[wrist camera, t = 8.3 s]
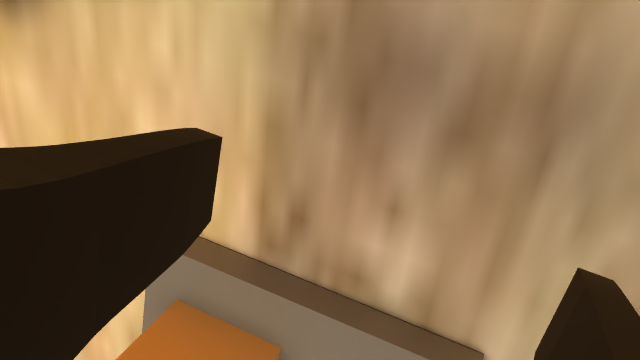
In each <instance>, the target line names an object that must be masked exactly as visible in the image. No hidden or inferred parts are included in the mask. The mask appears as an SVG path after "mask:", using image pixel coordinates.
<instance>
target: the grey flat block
mask: <svg viewBox="0 0 640 360" xmlns="http://www.w3.org/2000/svg"><path fill="white" fill-rule="evenodd" d="M176 300H179V301H181V302H183V303H185V304H187V305H189V306H192V307H194V308H196V309H198V310H200V311H203V312H205V313H207V314H209V315H211V316H213V317H216V318H218V319H220V320H222V321H224V322H226V323H229V324H231V325H233V326H235V327H237V328H239V329H242V330H244V331H246V332H248V333H250V334H253V335H255V336H257V337H259V338H261V339H263V340H266V341H268V342H270V343H272V344H274V345H276V346H279V347H281V351H280V355H279V359H278V360H483V356H484V354H481V353H479V352H477V351H474V350H472V349H469V348H467V347H464V346H462V345H460V344H457V343H455V342H452V341H450V340H448V339H445V338H443V337H440V336H438V335H435V334H433V333H431V332H428V331H426V330H423V329H421V328H419V327H416V326H414V325H411V324H409V323H406V322H404V321H402V320H399V319H397V318H394V317H392V316H390V315H387V314H385V313H382V312H380V311H377V310H375V309H373V308H370V307H368V306H365V305H363V304H360V303H358V302H356V301H353V300H351V299H348V298H346V297H344V296H341V295H339V294H336V293H334V292H331V291H329V290H327V289H324V288H322V287H319V286H317V285H315V284H312V283H310V282H307V281H305V280H302V279H300V278H298V277H295V276H293V275H290V274H288V273H286V272H283V271H281V270H278V269H276V268H273V267H271V266H269V265H266V264H264V263H261V262H259V261H256V260H254V259H252V258H249V257H247V256H244V255H242V254H240V253H237V252H235V251H232V250H230V249H227V248H225V247H223V246H220V245H218V244H215V243H213V242H211V241H208V240H206V239H203V238H201V237H198V238H197V239H196V240H195V241H194V242H193V244H192V245H191V246H190V247H189V248H188V249H187V251H186V252H185V253H184V254H183V255H182V256H181V257H180V258H179V259H178V260H177V261H176V262H175V263H173V264H172V265H171V266H170V267H169V268H168V269H167V270H166V271H165V272H164V273H162V274H161V275H160V276H159V277H158V278H157V279H156V280H155V281H154V282H153V283H151V284H150V285H149V286H148V287H147V288H146V291H145V304H144V316H143V328H142V333H143V332H144V331H145V330H146V329H147V328H148V327H149V326H150V325H151V324H152V323H153V322H154V321H155V320H156V319H157V318H158V317H159V316H160V315H161V314H162V313H163V312H164V311H165V310H166V309H167V308H168V307H169V306H170V305H171V304H172V303H174V302H175V301H176Z"/></svg>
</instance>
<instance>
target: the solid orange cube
mask: <svg viewBox="0 0 640 360" xmlns="http://www.w3.org/2000/svg"><path fill="white" fill-rule="evenodd" d="M280 351H281V347H279V346H276V345H274V344H272V343H270V342H268V341H266V340H263V339H261V338H259V337H257V336H255V335H253V334H250V333H248V332H246V331H244V330H242V329H239V328H237V327H235V326H233V325H231V324H229V323H226V322H224V321H222V320H220V319H218V318H216V317H213V316H211V315H209V314H207V313H205V312H203V311H200V310H198V309H196V308H194V307H192V306H189V305H187V304H185V303H183V302H181V301H179V300H176V301H175V302H174V303H172V304H171V305H170V306H169V307H168V308H167V309H166V310H165V311H164V312H163V313H162V314H161V315H160V316H159V317H158V318H157V319H156V320H155V321H154V322H153V323H152V324H151V325H150V326H149V327H148V328H147V329H146V330H145V331H144V332H143V333H142V334H141V335H140V336H139V337H138V338H137V339H136V340H135V341H134V342H133V343H132V344H131V345H130V346H129V347H128V348H127V349H126V350H125V351H124V352H123V353H122V354H121V355H120V356H119V357H118V358H117V359H116V360H278V359H279V355H280Z"/></svg>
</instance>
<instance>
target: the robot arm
mask: <svg viewBox="0 0 640 360" xmlns="http://www.w3.org/2000/svg"><path fill="white" fill-rule="evenodd" d="M221 143H222V137H220V136H217V135H215V134H212V133H209V132H206V131H204V130H201V129H198V128H181V129H172V130H164V131H157V132H150V133H143V134H137V135H130V136H123V137H117V138H110V139H103V140H94V141H86V142H77V143H69V144H60V145H50V146H36V147H15V148H0V360H73V359H74V358H75V357H76V356H77V355H78V354H79V353H80V351H81V350H82V349H83V348H84V347H85V346H86V345H87V344H88V342H89V341H90V340H91V339H92V338H93V337H94V336H95V335H96V334H97V333H98V332H99V331H100V330H101V329H102V328H103V327H104V326H105V325H106V324H107V323H108V322H109V321H110V320H111V319H112V318H113V317H114V316H116V315H117V314H118V313H119V312H120V311H121V310H122V309H123V308H125V307H126V306H127V305H128V304H129V303H130V302H131V301H132V300H133V299H135V298H136V297H137V296H138V295H139V294H140V293H141V292H142V291H144V290H145V289H146V288H147V287H148V286H149V285H150V284H151V283H153V282H154V281H155V280H156V279H157V278H158V277H159V276H160V275H161V274H162V273H164V272H165V271H166V270H167V269H168V268H169V267H170V266H171V265H172V264H173V263H175V262H176V261H177V260H178V259H179V258H180V257H181V256H182V255H183V254H184V253H185V252H186V251H187V249H188V248H189V247H190V246H191V245H192V244H193V242H194V241H195V240H196V239H197V238H198V236H199V235H200V234H201V233H202V231H203V230H204V229H205V227H206V226H207V225H208V224H209V222H210V221H211V216H212V209H213V202H214V194H215V187H216V180H217V172H218V165H219V158H220V151H221ZM534 360H640V316H639V315H638V314H637V312H636V311H635V309H634V308H633V306H632V305H631V303H630V302H629V300H628V299H627V298H626V296H625V295H624V293H623V292H622V291H621V289H620V288H619V287H618V285H617V284H616V283H615V282H614V281H613V280H611V279H608V278H605V277H603V276H600V275H597V274H594V273H592V272H589V271H586V270H583V269H581V268H578V269H577V271H576V273H575V275H574V277H573V279H572V281H571V283H570V285H569V287H568V289H567V291H566V293H565V295H564V297H563V298H562V300H561V302H560V304H559V306H558V308H557V310H556V312H555V314H554V316H553V318H552V320H551V322H550V324H549V326H548V328H547V330H546V332H545V334H544V336H543V338H542V340H541V342H540V344H539V346H538V348H537V350H536V352H535V357H534Z"/></svg>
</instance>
